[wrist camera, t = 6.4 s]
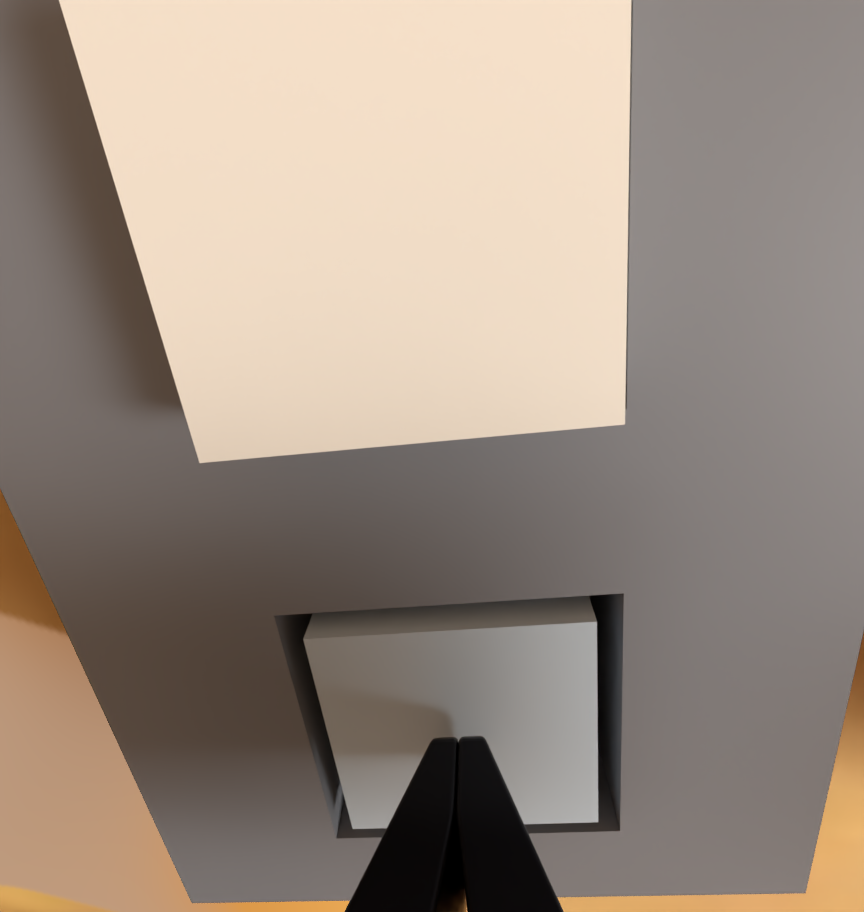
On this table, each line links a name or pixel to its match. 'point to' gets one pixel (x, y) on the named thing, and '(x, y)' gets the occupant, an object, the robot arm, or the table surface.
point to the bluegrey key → (462, 699)
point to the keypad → (482, 487)
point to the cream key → (372, 211)
